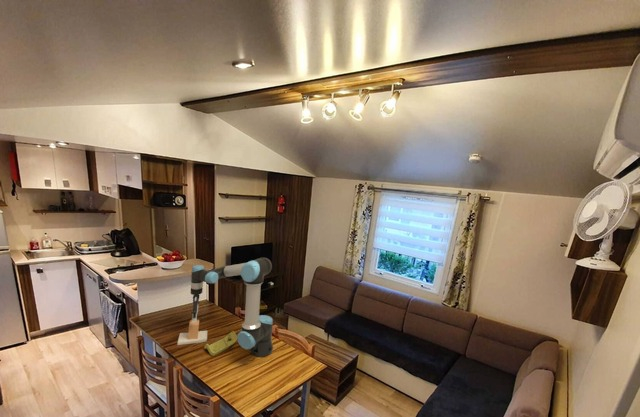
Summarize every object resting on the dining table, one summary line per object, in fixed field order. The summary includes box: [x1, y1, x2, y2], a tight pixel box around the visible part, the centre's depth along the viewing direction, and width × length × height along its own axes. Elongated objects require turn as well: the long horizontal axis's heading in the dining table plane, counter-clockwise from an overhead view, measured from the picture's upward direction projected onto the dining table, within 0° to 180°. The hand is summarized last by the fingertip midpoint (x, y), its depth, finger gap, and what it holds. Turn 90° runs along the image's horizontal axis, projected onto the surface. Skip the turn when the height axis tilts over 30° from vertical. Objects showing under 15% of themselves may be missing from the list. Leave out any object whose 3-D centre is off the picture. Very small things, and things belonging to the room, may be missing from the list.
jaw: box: [187, 319, 200, 340], centre depth 182 cm, size 7×6×10 cm
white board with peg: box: [177, 330, 208, 346], centre depth 182 cm, size 12×18×6 cm, turn 111°
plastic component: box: [204, 330, 238, 356], centre depth 176 cm, size 20×7×10 cm
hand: (195, 317), depth 181 cm, fingers open, 13 cm apart
